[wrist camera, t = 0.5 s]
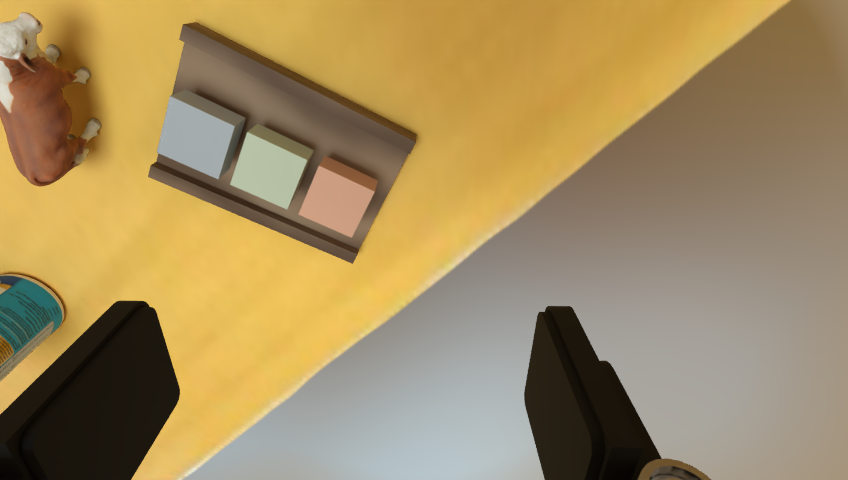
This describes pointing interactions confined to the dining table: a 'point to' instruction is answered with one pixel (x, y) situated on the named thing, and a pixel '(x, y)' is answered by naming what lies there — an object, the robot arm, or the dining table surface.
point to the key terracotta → (338, 196)
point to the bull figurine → (38, 105)
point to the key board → (291, 117)
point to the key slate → (200, 133)
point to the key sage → (271, 166)
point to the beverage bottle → (25, 318)
